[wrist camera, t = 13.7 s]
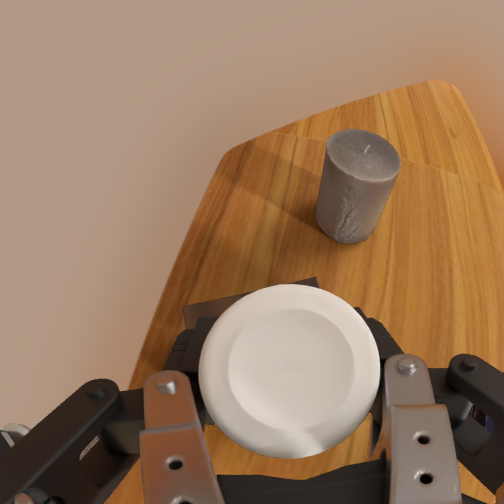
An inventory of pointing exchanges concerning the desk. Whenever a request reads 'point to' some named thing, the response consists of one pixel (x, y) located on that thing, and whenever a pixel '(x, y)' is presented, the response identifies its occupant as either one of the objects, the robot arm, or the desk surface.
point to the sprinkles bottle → (289, 371)
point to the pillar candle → (355, 184)
